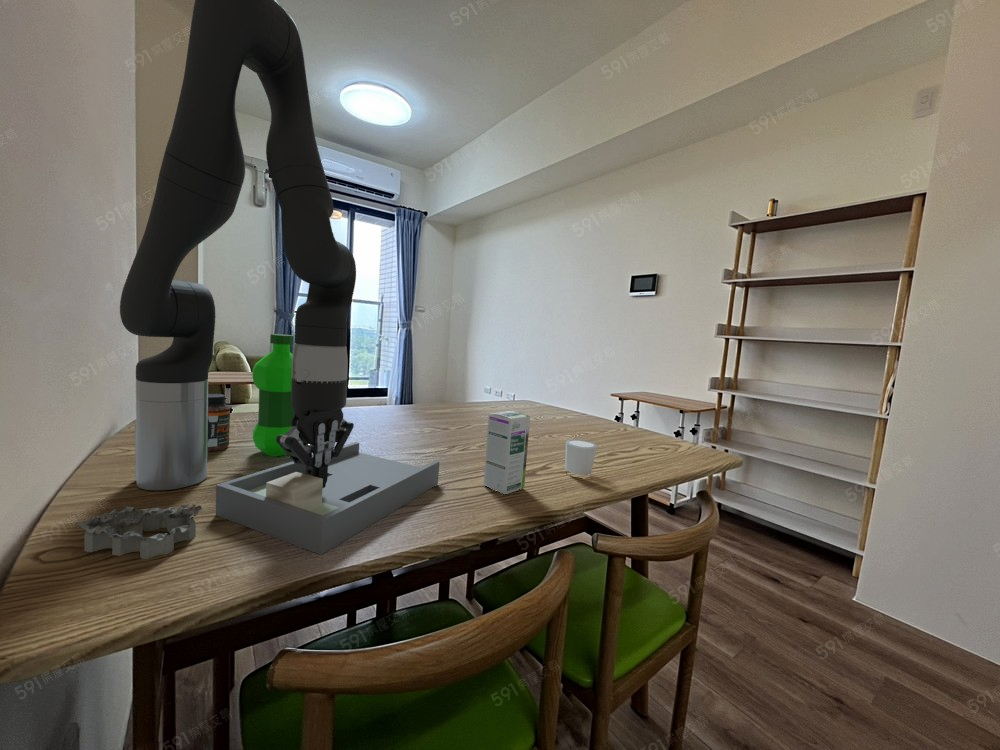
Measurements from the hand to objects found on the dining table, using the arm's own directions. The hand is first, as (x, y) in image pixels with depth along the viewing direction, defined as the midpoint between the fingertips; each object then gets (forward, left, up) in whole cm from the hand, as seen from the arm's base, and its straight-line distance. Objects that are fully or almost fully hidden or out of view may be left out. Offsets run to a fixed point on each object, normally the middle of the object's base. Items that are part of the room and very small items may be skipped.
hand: (316, 488), depth 62 cm
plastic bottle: (-27, +16, -4) cm, 32 cm away
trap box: (0, +6, -4) cm, 7 cm away
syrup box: (+21, +26, -4) cm, 33 cm away
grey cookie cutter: (-11, -17, -4) cm, 20 cm away
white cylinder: (+32, +43, -4) cm, 53 cm away
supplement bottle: (-39, +10, -4) cm, 41 cm away
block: (+1, -5, -1) cm, 5 cm away
